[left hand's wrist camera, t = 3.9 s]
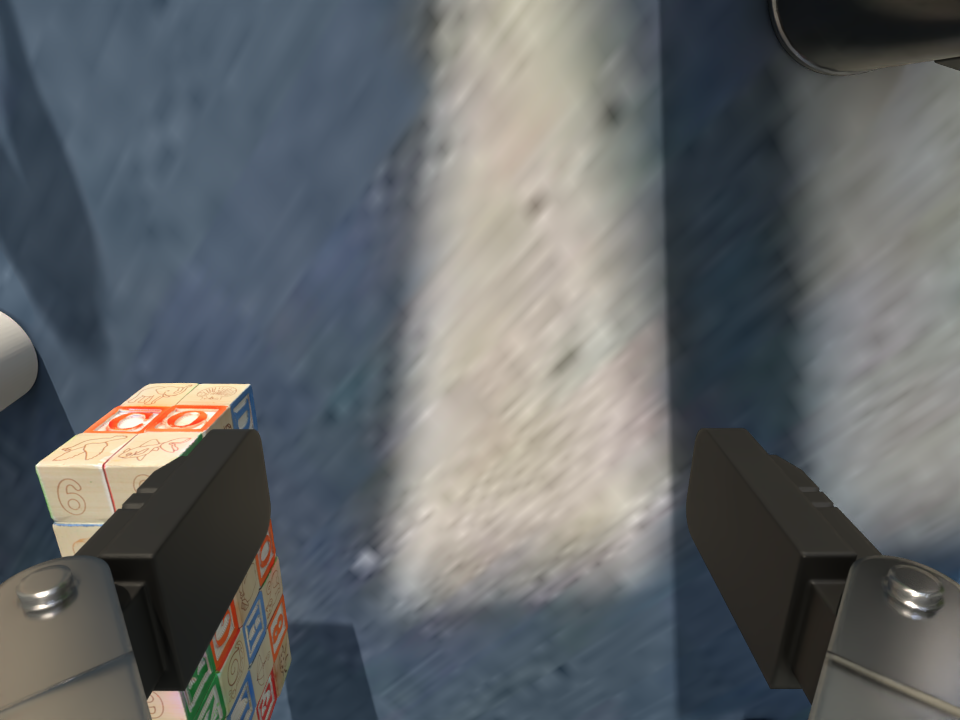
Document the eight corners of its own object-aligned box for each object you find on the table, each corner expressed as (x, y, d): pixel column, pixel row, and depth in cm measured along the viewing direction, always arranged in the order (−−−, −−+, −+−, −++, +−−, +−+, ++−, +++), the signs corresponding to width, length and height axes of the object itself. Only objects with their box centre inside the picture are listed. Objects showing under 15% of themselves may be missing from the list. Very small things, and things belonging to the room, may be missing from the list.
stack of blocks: (145, 380, 35) (-24, 502, 23) (253, 380, 35) (137, 503, 23) (205, 661, 42) (99, 859, 31) (294, 662, 42) (221, 861, 31)
